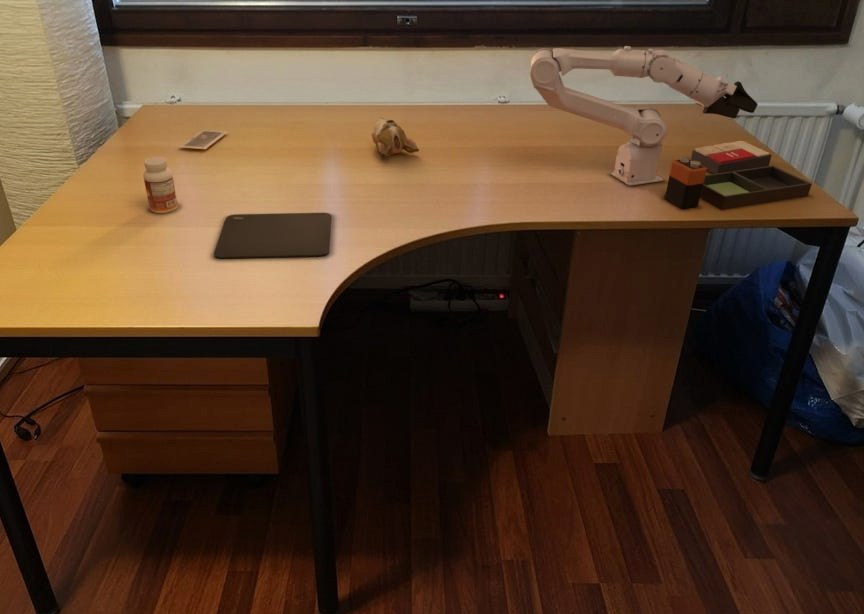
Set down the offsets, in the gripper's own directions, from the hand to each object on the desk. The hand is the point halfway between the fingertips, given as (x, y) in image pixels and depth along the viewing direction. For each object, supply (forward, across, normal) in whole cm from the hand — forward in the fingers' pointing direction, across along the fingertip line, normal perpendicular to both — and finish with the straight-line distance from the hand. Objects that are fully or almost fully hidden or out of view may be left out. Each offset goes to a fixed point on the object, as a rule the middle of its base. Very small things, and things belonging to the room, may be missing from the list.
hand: (745, 111), depth 168 cm
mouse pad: (-83, -12, +70) cm, 109 cm away
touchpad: (-116, +42, +58) cm, 136 cm away
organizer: (+10, +2, +15) cm, 18 cm away
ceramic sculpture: (-68, +32, +39) cm, 85 cm away
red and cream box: (+10, +17, +7) cm, 21 cm away
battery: (-5, -2, +25) cm, 26 cm away
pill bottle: (-109, +2, +76) cm, 133 cm away
